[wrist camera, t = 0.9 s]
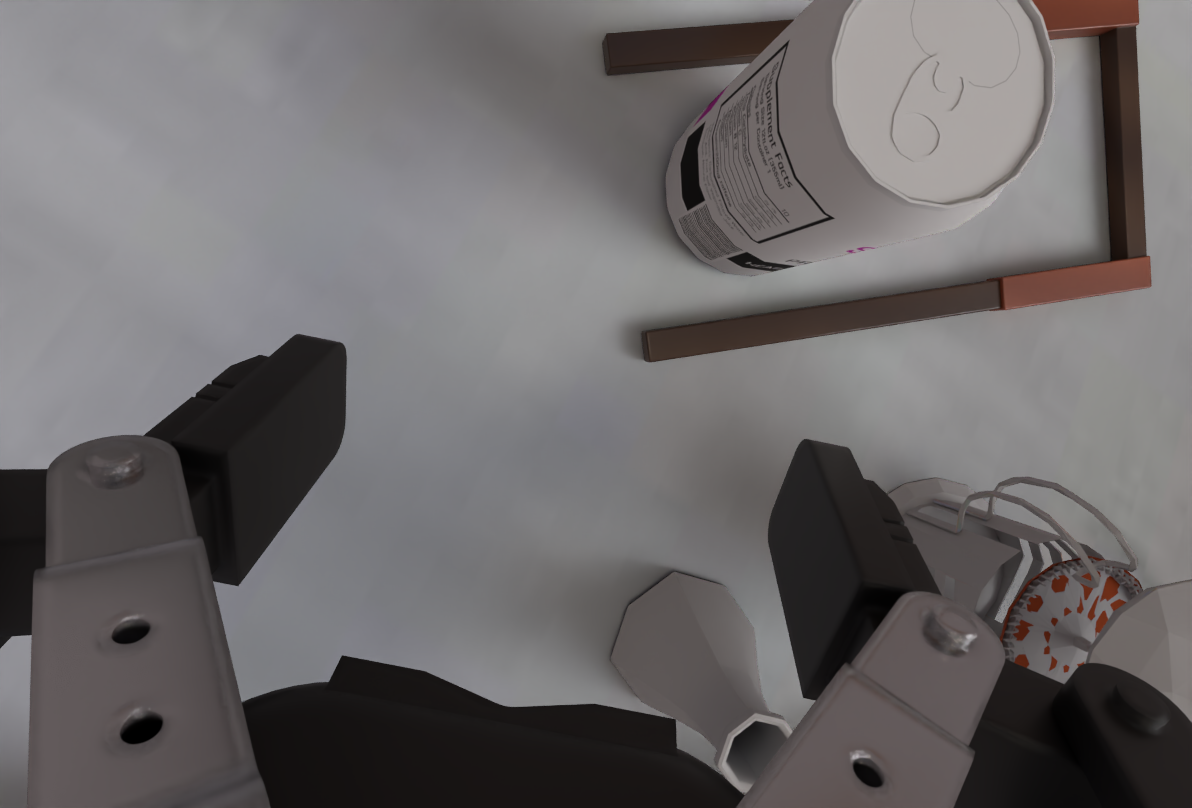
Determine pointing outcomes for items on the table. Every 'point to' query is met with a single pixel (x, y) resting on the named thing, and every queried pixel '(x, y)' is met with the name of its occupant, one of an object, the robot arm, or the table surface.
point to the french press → (1051, 588)
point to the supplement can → (863, 131)
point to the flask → (701, 671)
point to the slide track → (1069, 9)
